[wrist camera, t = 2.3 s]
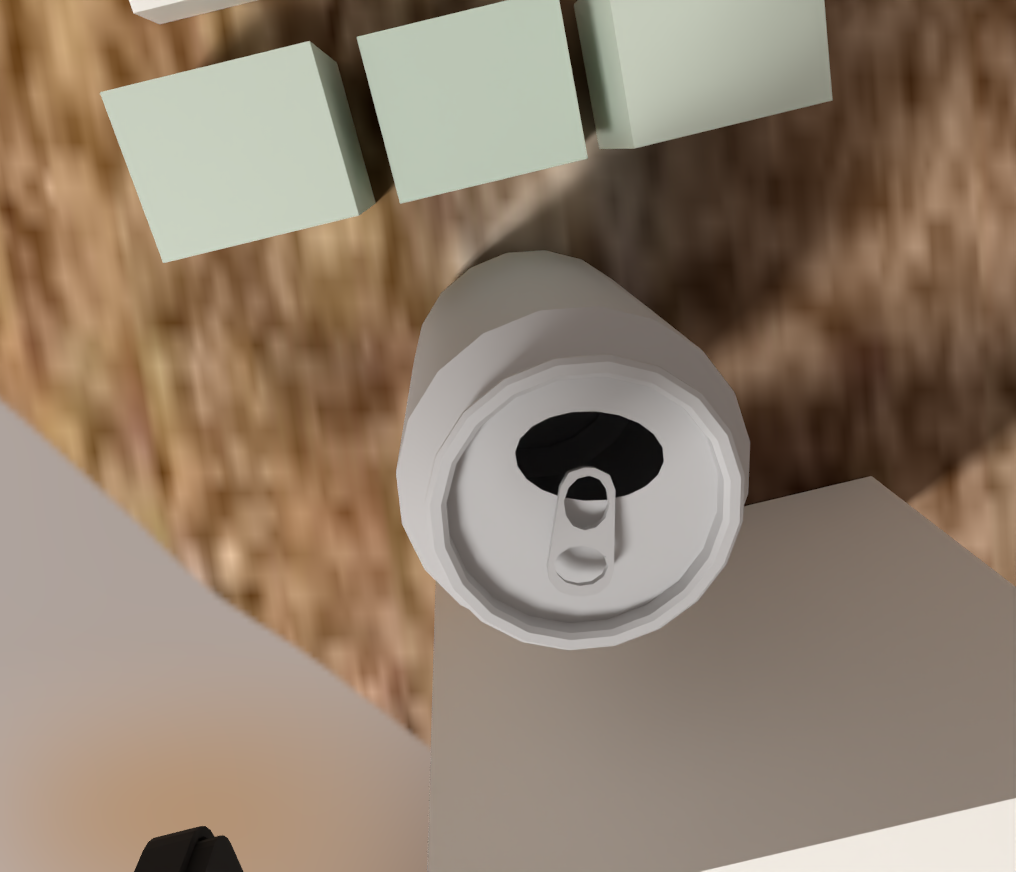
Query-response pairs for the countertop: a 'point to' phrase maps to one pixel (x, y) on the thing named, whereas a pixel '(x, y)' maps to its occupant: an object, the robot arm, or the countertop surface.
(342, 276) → the countertop surface
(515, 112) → the offcut mid
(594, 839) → the rack
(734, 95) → the offcut
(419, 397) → the can
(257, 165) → the offcut
